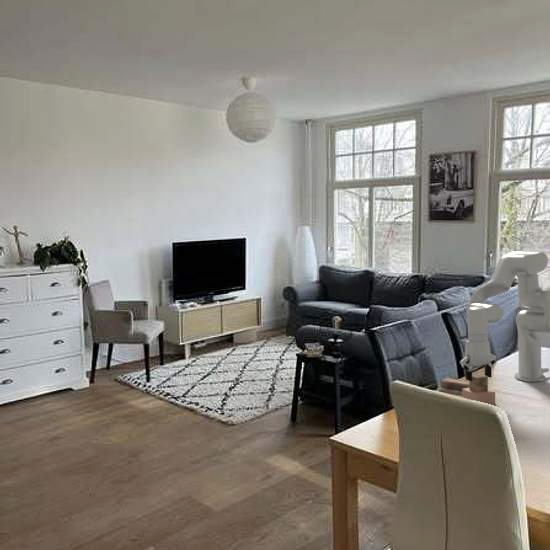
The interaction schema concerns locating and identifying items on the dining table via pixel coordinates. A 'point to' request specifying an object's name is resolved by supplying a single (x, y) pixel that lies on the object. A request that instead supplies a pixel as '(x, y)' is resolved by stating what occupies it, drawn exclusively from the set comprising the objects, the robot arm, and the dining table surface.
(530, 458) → the dining table surface
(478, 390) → the walnut block
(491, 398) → the base block
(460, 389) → the packaged product
